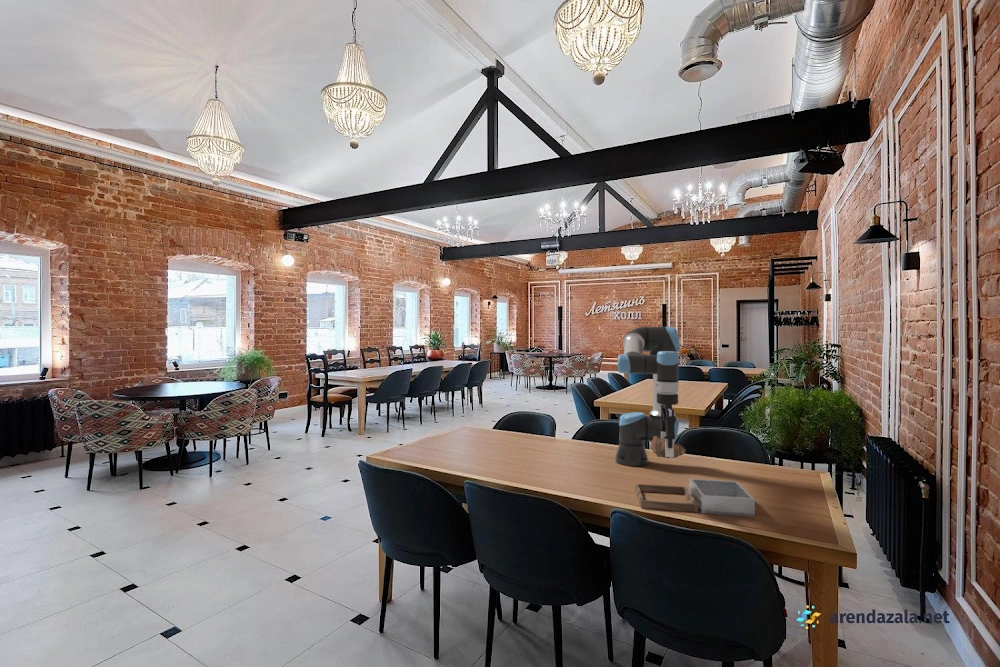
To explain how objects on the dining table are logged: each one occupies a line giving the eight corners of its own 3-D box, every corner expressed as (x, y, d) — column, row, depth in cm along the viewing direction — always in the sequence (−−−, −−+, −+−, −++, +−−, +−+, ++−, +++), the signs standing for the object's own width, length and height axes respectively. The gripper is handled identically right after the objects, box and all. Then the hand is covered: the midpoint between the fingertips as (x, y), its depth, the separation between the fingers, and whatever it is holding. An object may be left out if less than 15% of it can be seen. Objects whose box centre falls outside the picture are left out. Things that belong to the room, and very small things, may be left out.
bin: (689, 494, 181) (689, 478, 181) (736, 497, 178) (736, 481, 178) (701, 513, 162) (701, 495, 162) (754, 516, 159) (754, 499, 159)
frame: (635, 490, 185) (635, 483, 185) (686, 493, 182) (686, 486, 182) (641, 508, 166) (641, 501, 166) (697, 511, 163) (697, 504, 163)
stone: (660, 461, 179) (681, 445, 178) (669, 473, 169) (692, 456, 168) (643, 440, 178) (665, 424, 178) (652, 451, 168) (674, 434, 167)
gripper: (652, 388, 185) (652, 444, 186) (661, 397, 163) (661, 460, 163) (672, 389, 184) (672, 445, 184) (684, 397, 162) (683, 461, 162)
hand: (667, 452), depth 174 cm, fingers closed on stone, 10 cm apart
